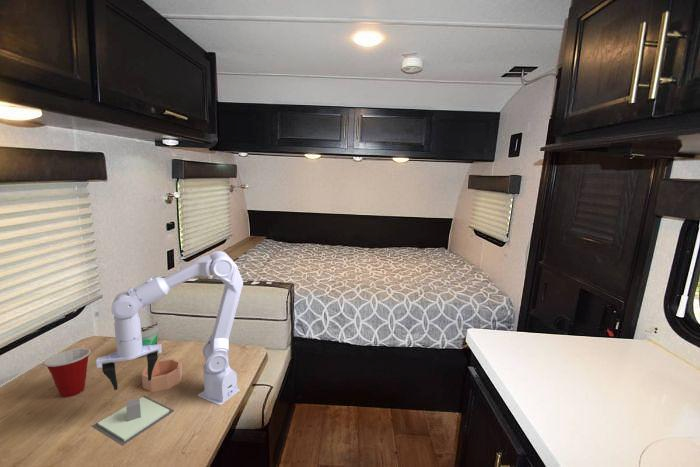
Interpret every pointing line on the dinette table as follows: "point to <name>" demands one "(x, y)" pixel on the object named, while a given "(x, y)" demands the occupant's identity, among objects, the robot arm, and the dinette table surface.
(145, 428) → the mat
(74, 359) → the plastic cup
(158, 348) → the robot arm
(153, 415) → the sheet
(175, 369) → the bowl
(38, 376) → the dinette table surface
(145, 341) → the food container
